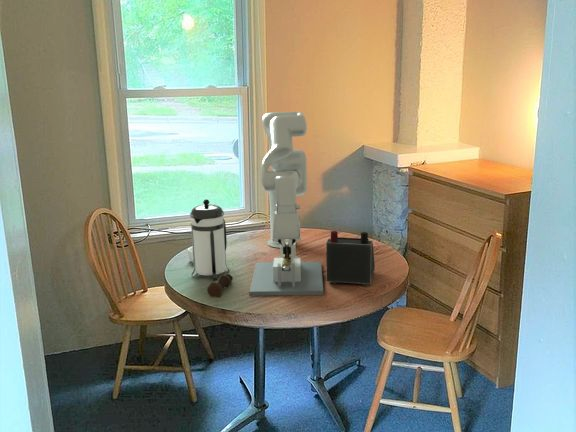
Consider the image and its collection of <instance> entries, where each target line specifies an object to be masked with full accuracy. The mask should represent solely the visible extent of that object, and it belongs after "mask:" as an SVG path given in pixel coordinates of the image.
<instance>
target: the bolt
mask: <svg viewBox="0 0 576 432" xmlns="http://www.w3.org/2000/svg"><path fill="white" fill-rule="evenodd" d="M233 279H234V277H233V276H232V275H231V274H228V273H227V274H222V275H220V276H219V279H217V280H218V281H217V282H210V284H209V285H208V286H207V288H206V291H207V294H208V295H209V296H210V297H211V298H220V297H221V295H222V294H223V293H224V289H225V288H229V287H230V285H231V284H232V282H233Z"/></svg>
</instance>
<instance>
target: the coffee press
mask: <svg viewBox="0 0 576 432" xmlns="http://www.w3.org/2000/svg"><path fill="white" fill-rule="evenodd" d="M202 203H203V204H201V205H197V206H195V207H193V208H192V209H191V211H190V213H189V217H190V219H191V223H190V228H191V244H192V245H191V247H193V261H194V262H193V271H192V272H191V277H192V278H194V279H195V277H197V276H198V275H201V276H211V278H212V281H214V282H215V281H217V280H218V277H217V275H219V274H222V273H224V272H225V273H227V274H228V273H230V269H229V268H228V267H227V256H226V250H227V245H228V243H227V242H228V241H227V226H226V225H227V224H226V221H225V219H224V215H225V212H224V210H223V208H222V207H221V206H219V205H217V204H211V203H210V200H209V199H204V200H203V202H202ZM226 269H227V270H226ZM195 272H196V273H195Z"/></svg>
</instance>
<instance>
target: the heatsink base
mask: <svg viewBox="0 0 576 432" xmlns="http://www.w3.org/2000/svg"><path fill="white" fill-rule="evenodd" d="M282 262H283V258H280V257H274V258H273V261H259V262H258V261H256V263H255V266H254V271H253V274H252V279H251V284H250V287H249V293H248V294H249V297H250V296H254V297H255V296H257V297H258V296H323V295H324V283H323V271H322V261H301V257H296V258H291V271H282Z"/></svg>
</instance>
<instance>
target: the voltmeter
mask: <svg viewBox="0 0 576 432" xmlns="http://www.w3.org/2000/svg"><path fill="white" fill-rule="evenodd" d="M338 234H339V233H338V231H337V230H331V231H330V238H328V239H327V240H326V242H325V243H326V252H325V253H326V255H325V257H326V261H325V262H326V264H325V265H326V282H330V284H331V285H336V284H337V283H349V284H350V283H351V284H361V285H362V286H363V287H368V286H369V285H371V284H372V280H373V276H374V274H375V273H374V272H375V265H376V263H375V261H376V260H375V253H374V243H373V240H369V236H368V235H369V233H368V232H367V231H366V232H365V231H364V232H363V231H362V232H361V233H360V238H359V237H339V235H338ZM367 285H368V286H367Z"/></svg>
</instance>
